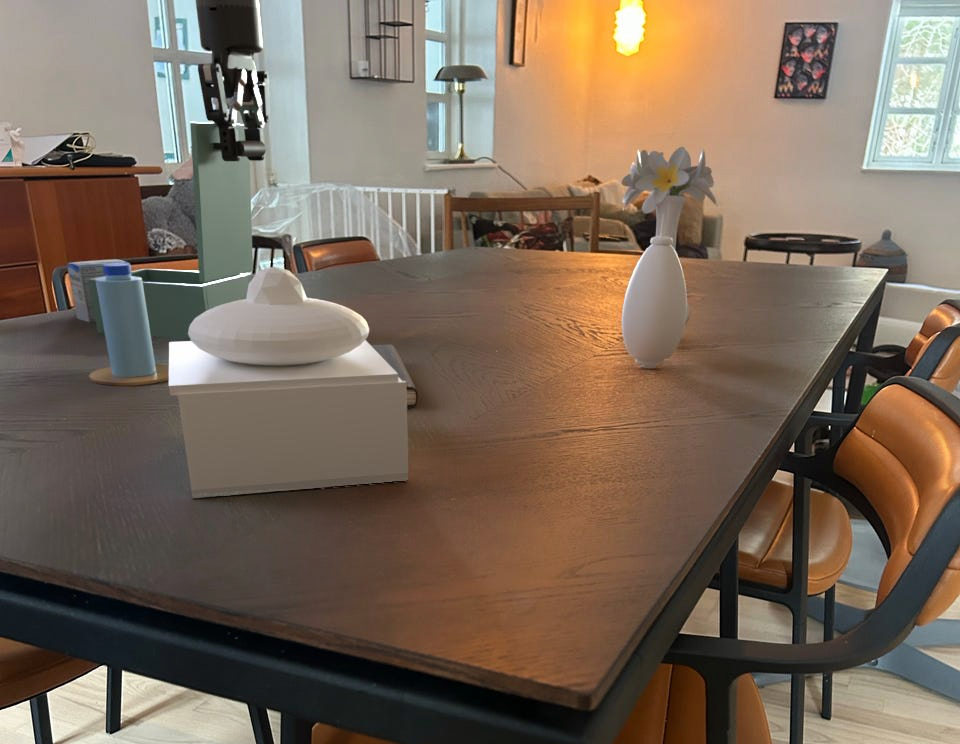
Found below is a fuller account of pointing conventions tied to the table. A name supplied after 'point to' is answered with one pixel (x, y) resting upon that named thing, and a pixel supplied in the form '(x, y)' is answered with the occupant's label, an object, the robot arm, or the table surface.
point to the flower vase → (668, 187)
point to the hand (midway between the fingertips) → (243, 160)
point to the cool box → (178, 298)
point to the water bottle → (125, 321)
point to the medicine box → (85, 285)
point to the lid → (222, 203)
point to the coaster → (108, 378)
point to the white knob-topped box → (286, 394)
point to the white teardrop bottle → (655, 304)
